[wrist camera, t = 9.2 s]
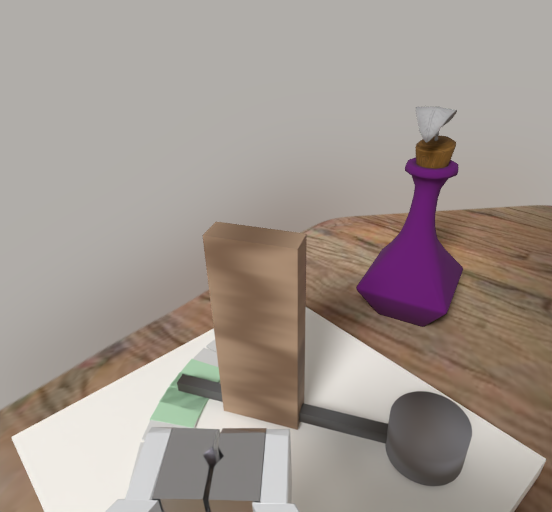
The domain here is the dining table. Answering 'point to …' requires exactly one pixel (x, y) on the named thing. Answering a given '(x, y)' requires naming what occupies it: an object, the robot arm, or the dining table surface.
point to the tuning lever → (303, 357)
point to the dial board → (304, 442)
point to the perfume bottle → (418, 237)
